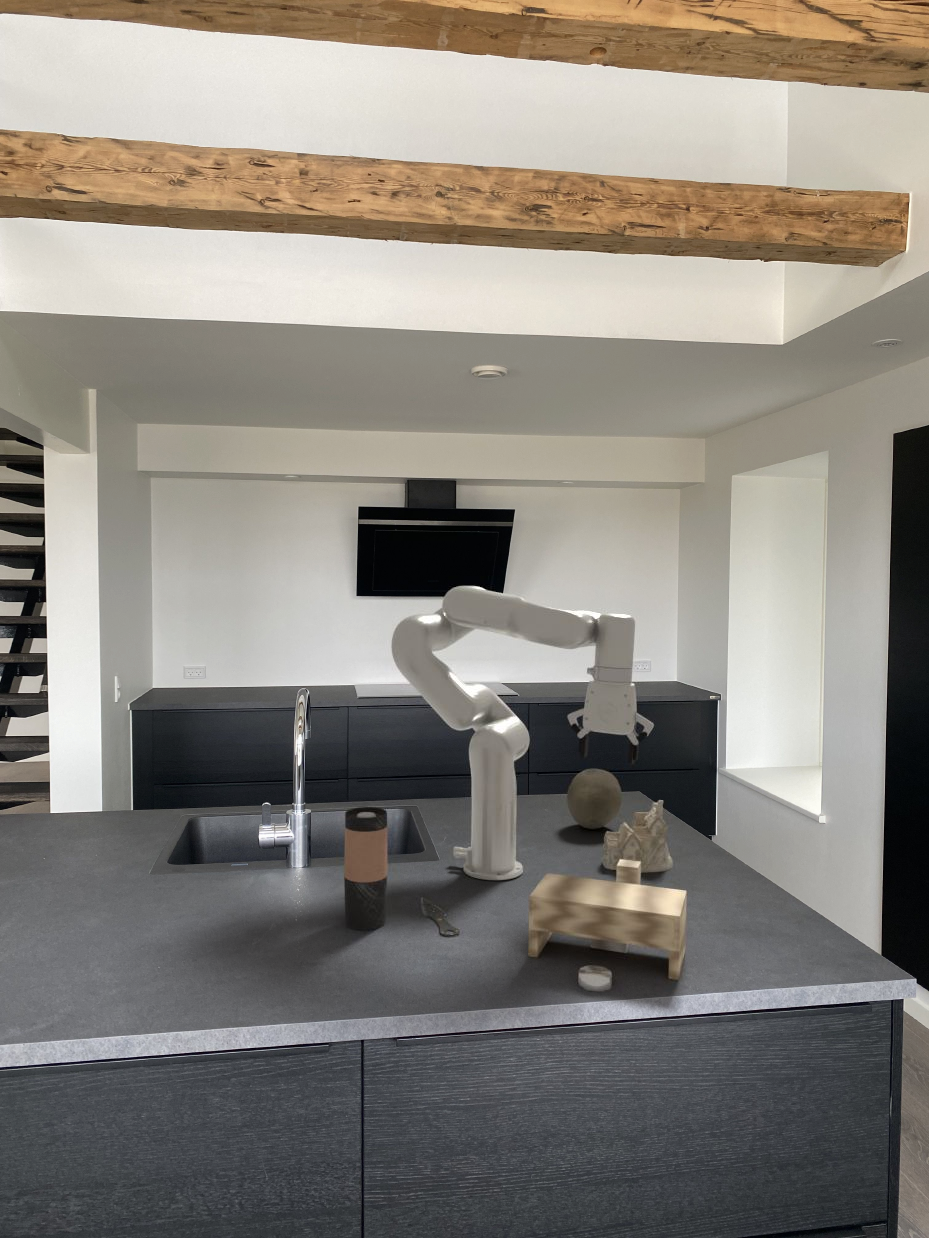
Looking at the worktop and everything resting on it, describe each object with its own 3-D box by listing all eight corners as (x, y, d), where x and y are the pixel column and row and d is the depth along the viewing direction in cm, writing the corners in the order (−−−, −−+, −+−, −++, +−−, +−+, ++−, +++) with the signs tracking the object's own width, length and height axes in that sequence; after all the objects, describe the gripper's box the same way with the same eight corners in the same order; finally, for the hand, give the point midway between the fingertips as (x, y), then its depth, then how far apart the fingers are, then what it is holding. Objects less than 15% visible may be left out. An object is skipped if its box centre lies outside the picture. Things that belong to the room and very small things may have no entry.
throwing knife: (440, 939, 147) (440, 936, 147) (410, 898, 166) (410, 895, 166) (464, 936, 149) (464, 933, 149) (431, 896, 168) (431, 893, 168)
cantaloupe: (554, 827, 216) (555, 768, 215) (589, 818, 225) (590, 761, 225) (598, 840, 205) (599, 778, 205) (633, 829, 215) (635, 770, 214)
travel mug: (393, 917, 156) (394, 809, 155) (375, 933, 149) (376, 819, 148) (355, 912, 158) (356, 805, 158) (336, 927, 151) (337, 815, 150)
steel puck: (575, 990, 129) (576, 977, 129) (581, 975, 134) (581, 963, 134) (609, 995, 128) (609, 981, 128) (613, 980, 133) (613, 967, 133)
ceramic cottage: (668, 850, 198) (666, 786, 197) (676, 877, 182) (673, 807, 181) (600, 851, 200) (597, 788, 199) (602, 877, 184) (598, 809, 183)
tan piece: (590, 947, 144) (591, 900, 144) (614, 899, 167) (614, 858, 167) (626, 952, 142) (627, 905, 142) (645, 903, 165) (646, 862, 165)
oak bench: (528, 956, 140) (528, 896, 140) (546, 928, 152) (547, 873, 151) (678, 980, 132) (679, 916, 132) (685, 949, 144) (686, 890, 144)
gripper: (565, 673, 171) (560, 758, 172) (653, 681, 165) (647, 769, 165) (575, 670, 178) (570, 751, 179) (659, 677, 172) (654, 762, 172)
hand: (607, 760), depth 172 cm, fingers open, 9 cm apart
